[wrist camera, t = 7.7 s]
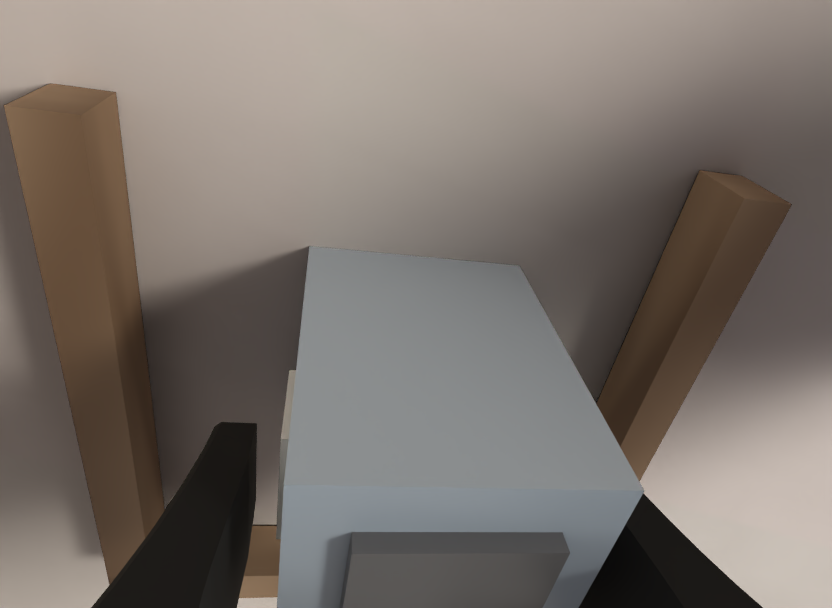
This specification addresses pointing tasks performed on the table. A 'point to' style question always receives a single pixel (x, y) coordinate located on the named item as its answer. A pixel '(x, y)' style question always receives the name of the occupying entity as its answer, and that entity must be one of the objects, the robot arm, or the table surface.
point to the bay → (124, 335)
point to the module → (440, 444)
